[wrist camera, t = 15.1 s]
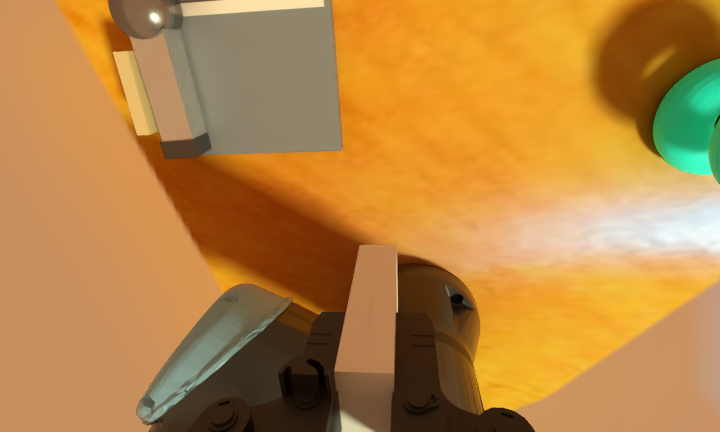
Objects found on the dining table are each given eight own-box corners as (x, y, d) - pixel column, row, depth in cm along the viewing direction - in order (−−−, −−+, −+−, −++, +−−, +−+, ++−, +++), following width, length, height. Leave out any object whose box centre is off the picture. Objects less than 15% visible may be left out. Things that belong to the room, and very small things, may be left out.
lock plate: (342, 147, 39) (335, 162, 34) (174, 152, 41) (146, 167, 37) (316, -203, 28) (300, -249, 24) (90, -173, 30) (35, -210, 26)
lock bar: (126, -15, 33) (100, -20, 30) (174, -22, 32) (152, -27, 30) (176, 151, 39) (158, 160, 36) (217, 147, 38) (202, 157, 36)
